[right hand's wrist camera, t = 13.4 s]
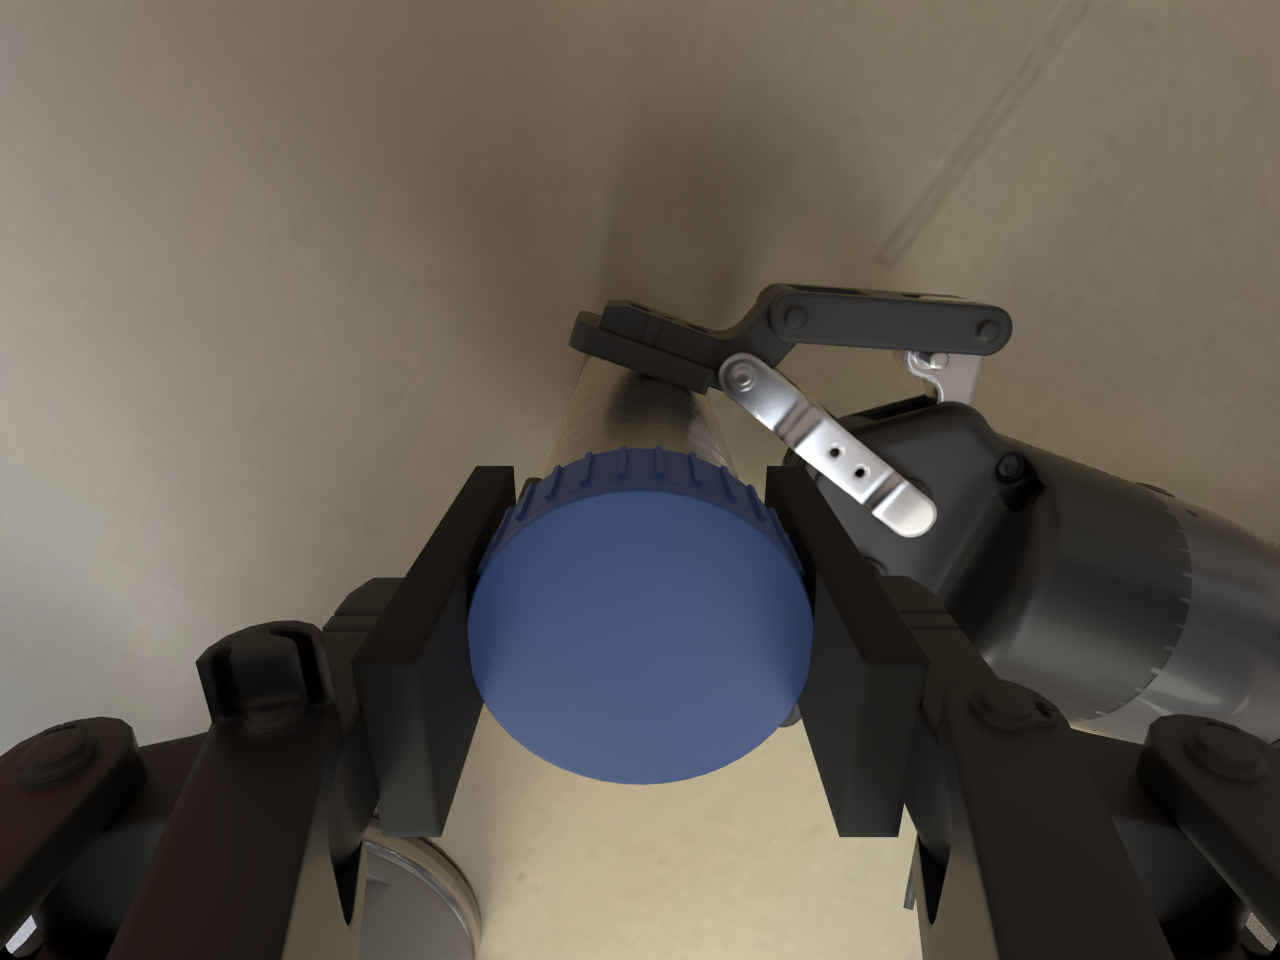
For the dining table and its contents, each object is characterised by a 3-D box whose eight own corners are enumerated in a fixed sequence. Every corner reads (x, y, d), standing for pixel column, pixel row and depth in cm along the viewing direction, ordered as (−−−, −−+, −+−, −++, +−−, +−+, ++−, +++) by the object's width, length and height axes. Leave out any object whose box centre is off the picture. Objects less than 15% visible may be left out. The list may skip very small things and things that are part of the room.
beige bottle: (725, 409, 25) (831, 654, 11) (624, 473, 26) (605, 773, 12) (658, 305, 24) (684, 435, 10) (554, 375, 25) (442, 587, 11)
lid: (602, 376, 11) (595, 407, 9) (860, 560, 12) (896, 617, 10) (428, 618, 12) (394, 682, 11) (670, 759, 13) (675, 837, 12)
